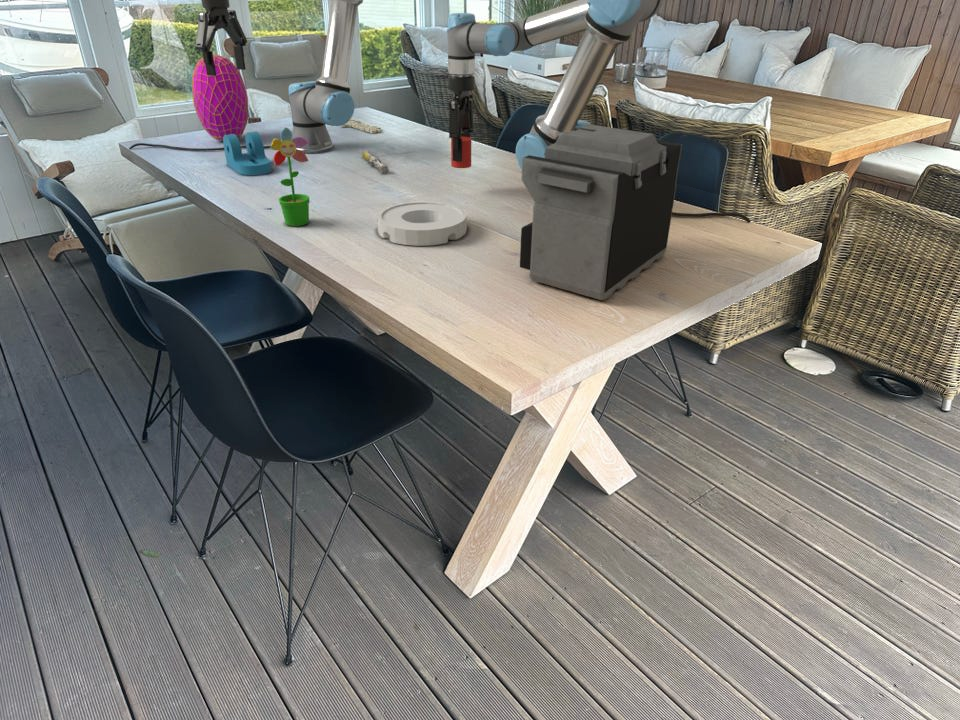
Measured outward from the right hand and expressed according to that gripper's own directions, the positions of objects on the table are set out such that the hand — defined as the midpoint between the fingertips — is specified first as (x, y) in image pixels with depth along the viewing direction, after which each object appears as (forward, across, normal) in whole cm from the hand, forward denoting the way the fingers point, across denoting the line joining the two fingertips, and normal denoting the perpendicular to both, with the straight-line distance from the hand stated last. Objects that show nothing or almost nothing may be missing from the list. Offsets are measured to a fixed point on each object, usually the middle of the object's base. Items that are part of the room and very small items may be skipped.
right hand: (461, 158), depth 204 cm
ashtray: (+10, +35, +2) cm, 37 cm away
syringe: (+10, -18, -38) cm, 44 cm away
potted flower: (+10, +42, -31) cm, 53 cm away
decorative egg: (+11, -29, -107) cm, 111 cm away
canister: (+2, 0, 0) cm, 2 cm away
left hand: (-21, +8, -73) cm, 76 cm away
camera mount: (+10, +1, -75) cm, 75 cm away
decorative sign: (+10, -69, -72) cm, 100 cm away
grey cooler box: (+10, +44, +50) cm, 67 cm away
